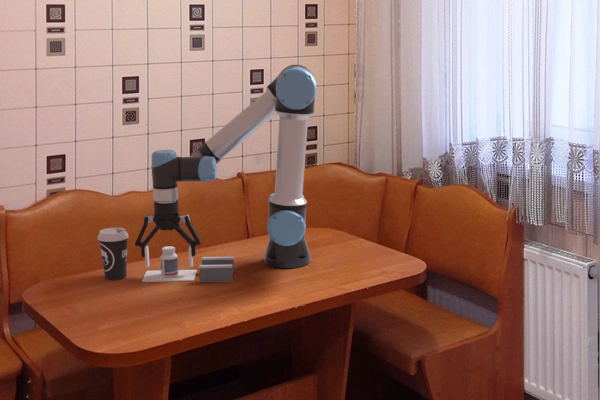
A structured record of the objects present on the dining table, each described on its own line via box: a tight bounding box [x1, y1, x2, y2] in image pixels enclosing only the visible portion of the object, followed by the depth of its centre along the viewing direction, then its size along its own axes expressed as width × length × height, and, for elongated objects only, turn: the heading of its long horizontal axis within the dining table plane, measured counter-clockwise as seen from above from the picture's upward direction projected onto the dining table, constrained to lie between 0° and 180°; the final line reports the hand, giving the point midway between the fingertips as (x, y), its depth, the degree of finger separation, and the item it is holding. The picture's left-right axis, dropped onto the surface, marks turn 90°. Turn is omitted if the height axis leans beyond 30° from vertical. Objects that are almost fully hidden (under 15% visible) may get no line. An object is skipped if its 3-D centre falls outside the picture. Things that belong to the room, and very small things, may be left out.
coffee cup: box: [97, 227, 130, 281], centre depth 264 cm, size 10×10×15 cm
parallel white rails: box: [198, 255, 235, 283], centre depth 264 cm, size 10×10×5 cm
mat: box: [141, 269, 198, 283], centre depth 266 cm, size 16×10×1 cm, turn 91°
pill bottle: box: [160, 245, 179, 277], centre depth 265 cm, size 5×5×9 cm
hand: (169, 266), depth 265 cm, fingers open, 13 cm apart
